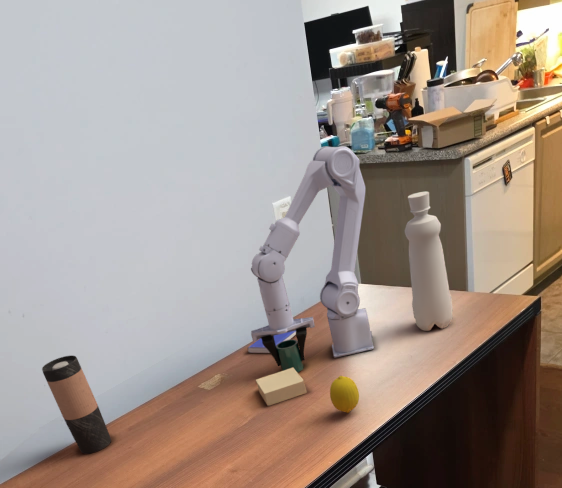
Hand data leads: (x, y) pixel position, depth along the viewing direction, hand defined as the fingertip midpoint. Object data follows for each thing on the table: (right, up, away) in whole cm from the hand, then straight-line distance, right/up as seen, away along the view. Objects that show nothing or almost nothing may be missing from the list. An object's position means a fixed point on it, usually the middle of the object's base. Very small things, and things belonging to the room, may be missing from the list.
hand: (291, 361), depth 153 cm
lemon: (+11, -14, -24) cm, 30 cm away
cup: (+1, -2, +1) cm, 2 cm away
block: (-2, -8, -9) cm, 12 cm away
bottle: (+35, +9, +3) cm, 36 cm away
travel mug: (-43, -20, -9) cm, 49 cm away
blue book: (-4, +8, +20) cm, 22 cm away
